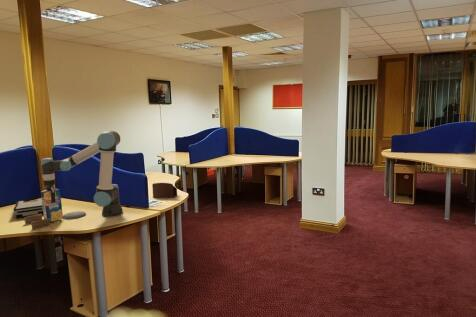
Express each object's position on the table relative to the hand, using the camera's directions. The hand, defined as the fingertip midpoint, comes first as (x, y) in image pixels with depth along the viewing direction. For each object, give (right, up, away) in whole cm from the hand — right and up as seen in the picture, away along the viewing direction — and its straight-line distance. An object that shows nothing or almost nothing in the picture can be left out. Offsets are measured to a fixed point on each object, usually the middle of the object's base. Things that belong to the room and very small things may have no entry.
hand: (52, 210), depth 258 cm
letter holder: (+69, +3, +64) cm, 94 cm away
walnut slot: (-8, -9, -6) cm, 13 cm away
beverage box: (0, -7, +1) cm, 7 cm away
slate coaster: (+10, -6, +12) cm, 17 cm away
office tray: (-32, -6, +28) cm, 43 cm away
